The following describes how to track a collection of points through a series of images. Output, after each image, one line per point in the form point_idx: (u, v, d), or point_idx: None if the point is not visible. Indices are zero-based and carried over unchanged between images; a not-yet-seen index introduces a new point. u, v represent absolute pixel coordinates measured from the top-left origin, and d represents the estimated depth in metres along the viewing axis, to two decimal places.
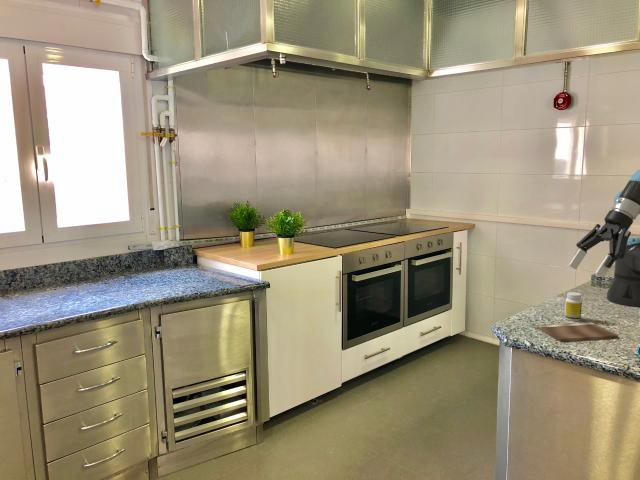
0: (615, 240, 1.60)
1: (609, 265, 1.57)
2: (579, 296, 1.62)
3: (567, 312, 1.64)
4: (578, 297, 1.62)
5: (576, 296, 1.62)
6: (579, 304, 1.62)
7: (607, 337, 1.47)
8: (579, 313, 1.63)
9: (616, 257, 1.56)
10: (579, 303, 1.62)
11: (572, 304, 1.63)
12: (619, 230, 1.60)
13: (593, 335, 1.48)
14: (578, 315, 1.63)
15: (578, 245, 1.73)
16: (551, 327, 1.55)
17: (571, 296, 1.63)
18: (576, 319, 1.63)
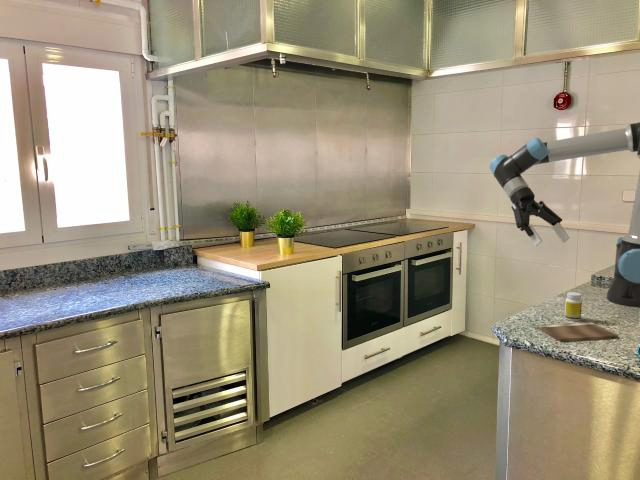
0: (524, 213, 1.74)
1: (529, 234, 1.68)
2: (579, 296, 1.62)
3: (567, 312, 1.64)
4: (578, 297, 1.62)
5: (576, 296, 1.62)
6: (579, 304, 1.62)
7: (607, 337, 1.47)
8: (579, 313, 1.63)
9: (523, 226, 1.69)
10: (579, 303, 1.62)
11: (572, 304, 1.63)
12: None
13: (593, 335, 1.48)
14: (578, 315, 1.63)
15: None
16: (551, 327, 1.55)
17: (571, 296, 1.63)
18: (576, 319, 1.63)
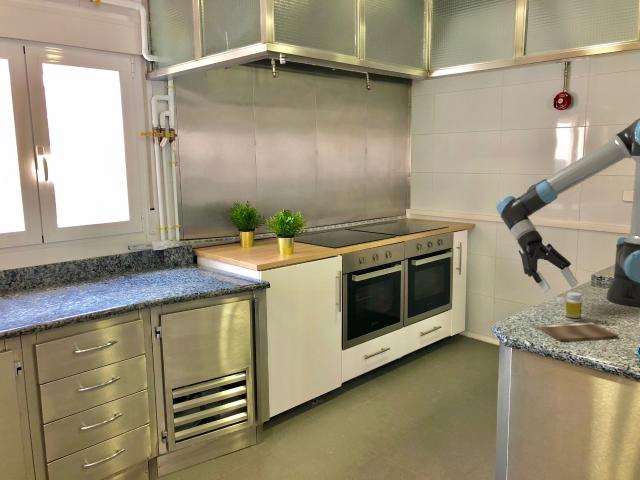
0: (532, 258, 1.71)
1: (537, 280, 1.65)
2: (579, 296, 1.62)
3: (567, 312, 1.64)
4: (578, 297, 1.62)
5: (576, 296, 1.62)
6: (579, 304, 1.62)
7: (607, 337, 1.47)
8: (579, 313, 1.63)
9: (530, 273, 1.67)
10: (579, 303, 1.62)
11: (572, 304, 1.63)
12: None
13: (593, 335, 1.48)
14: (578, 315, 1.63)
15: None
16: (551, 327, 1.55)
17: (571, 296, 1.63)
18: (576, 319, 1.63)
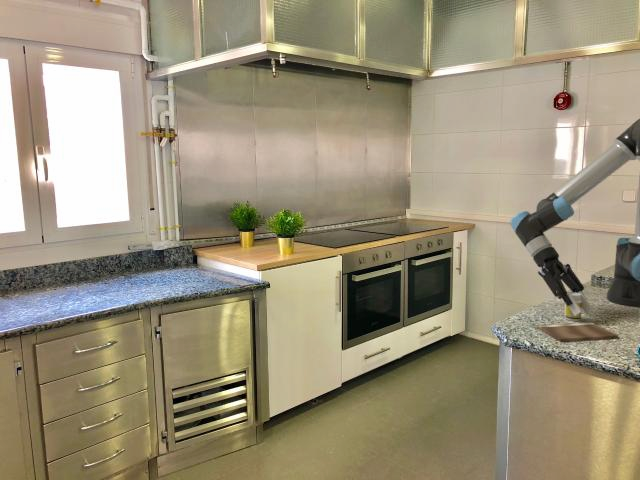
0: (553, 277, 1.67)
1: (567, 303, 1.61)
2: (579, 296, 1.62)
3: (567, 312, 1.64)
4: (578, 297, 1.62)
5: (576, 296, 1.62)
6: (579, 304, 1.62)
7: (607, 337, 1.47)
8: (579, 313, 1.63)
9: (560, 295, 1.63)
10: (579, 303, 1.62)
11: None
12: None
13: (593, 335, 1.48)
14: (578, 315, 1.63)
15: None
16: (551, 327, 1.55)
17: None
18: (576, 319, 1.63)
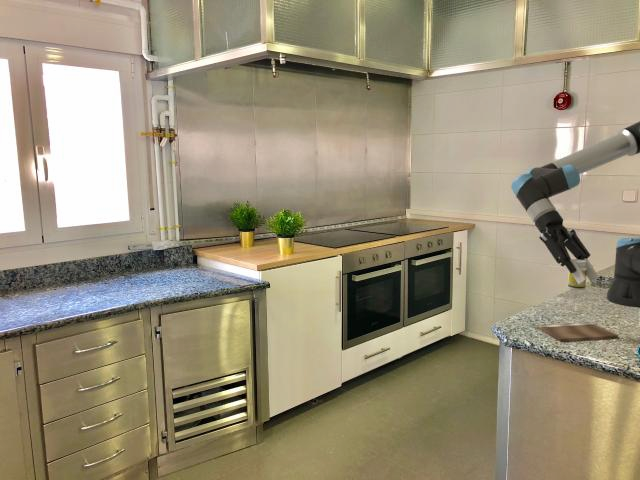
0: (556, 243, 1.52)
1: (571, 270, 1.47)
2: (584, 263, 1.48)
3: (570, 280, 1.50)
4: (583, 264, 1.48)
5: (580, 263, 1.48)
6: (584, 272, 1.48)
7: (607, 337, 1.47)
8: (583, 282, 1.48)
9: (563, 262, 1.48)
10: (584, 270, 1.48)
11: None
12: None
13: (593, 335, 1.48)
14: (582, 284, 1.48)
15: None
16: (551, 327, 1.55)
17: None
18: (580, 288, 1.48)
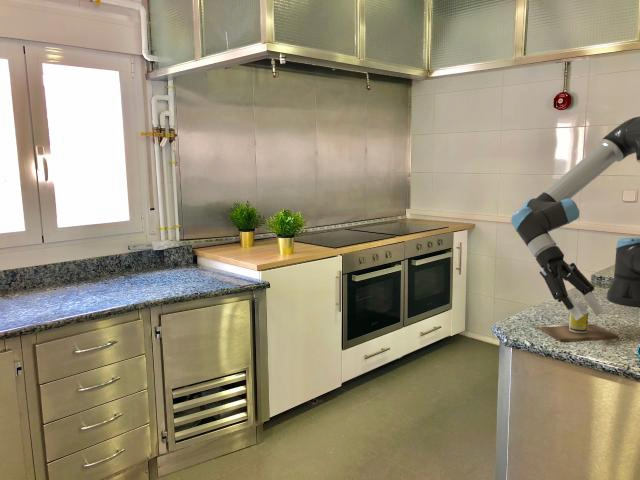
0: (556, 279, 1.53)
1: (568, 306, 1.47)
2: (585, 306, 1.49)
3: (572, 323, 1.50)
4: (584, 307, 1.48)
5: (582, 306, 1.48)
6: (585, 315, 1.49)
7: (607, 337, 1.47)
8: (585, 325, 1.49)
9: (560, 298, 1.48)
10: (585, 314, 1.48)
11: None
12: None
13: (593, 335, 1.48)
14: (584, 327, 1.49)
15: None
16: (551, 327, 1.55)
17: None
18: (582, 331, 1.49)
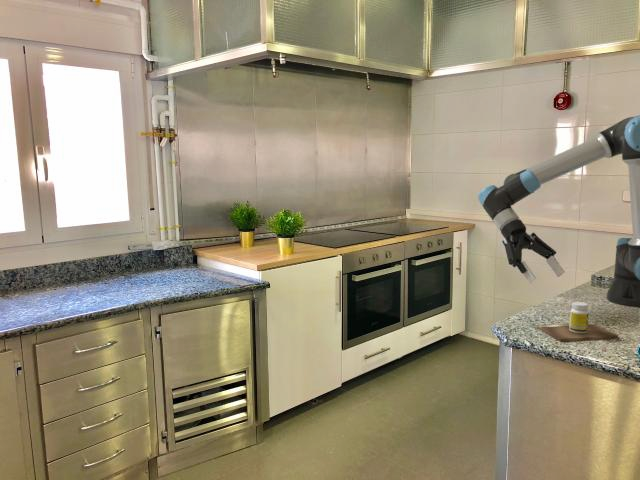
0: (516, 247, 1.66)
1: (522, 270, 1.60)
2: (585, 306, 1.49)
3: (572, 323, 1.50)
4: (584, 307, 1.48)
5: (582, 306, 1.48)
6: (585, 315, 1.48)
7: (607, 337, 1.47)
8: (585, 325, 1.49)
9: (515, 263, 1.61)
10: (585, 314, 1.48)
11: (577, 314, 1.49)
12: None
13: (593, 335, 1.48)
14: (584, 327, 1.49)
15: None
16: (551, 327, 1.55)
17: (577, 306, 1.49)
18: (582, 331, 1.49)
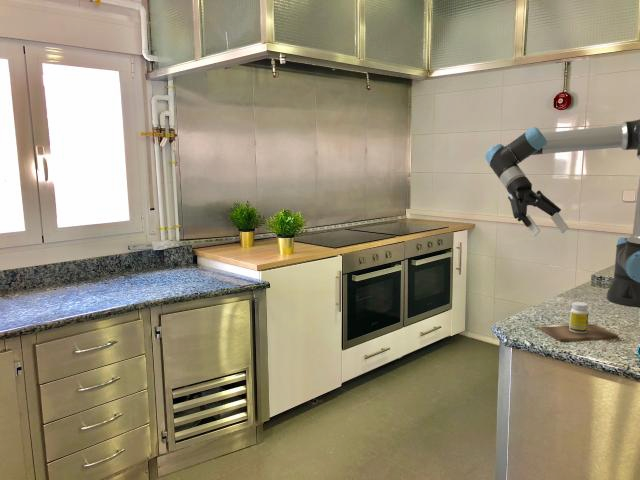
0: (521, 203, 1.69)
1: (526, 224, 1.63)
2: (585, 306, 1.49)
3: (572, 323, 1.50)
4: (584, 307, 1.48)
5: (582, 306, 1.48)
6: (585, 315, 1.48)
7: (607, 337, 1.47)
8: (585, 325, 1.49)
9: (520, 217, 1.64)
10: (585, 314, 1.48)
11: (577, 315, 1.49)
12: None
13: (593, 335, 1.48)
14: (584, 327, 1.49)
15: None
16: (551, 327, 1.55)
17: (577, 306, 1.49)
18: (582, 331, 1.49)
